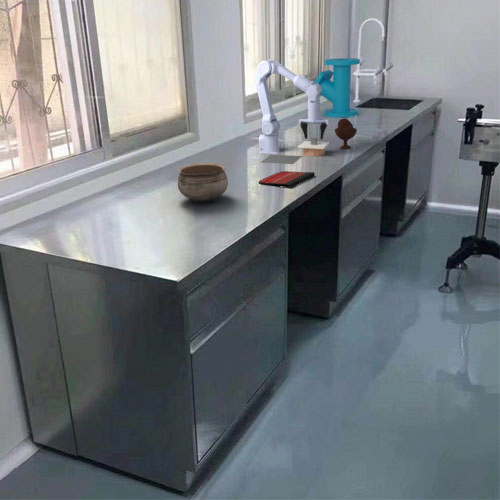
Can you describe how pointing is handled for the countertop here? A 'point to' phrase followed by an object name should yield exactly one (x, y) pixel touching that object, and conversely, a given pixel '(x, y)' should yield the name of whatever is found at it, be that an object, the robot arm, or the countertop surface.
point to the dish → (313, 152)
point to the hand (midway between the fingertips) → (313, 138)
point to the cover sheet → (313, 144)
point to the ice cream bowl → (345, 132)
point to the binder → (286, 178)
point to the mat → (281, 159)
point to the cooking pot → (202, 181)
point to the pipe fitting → (338, 86)
